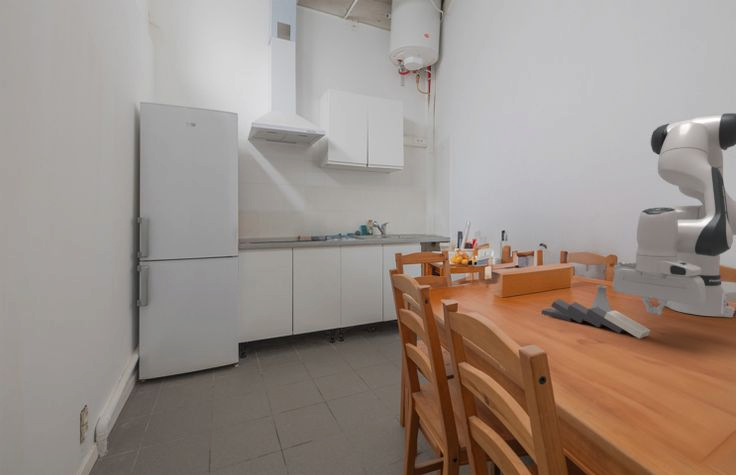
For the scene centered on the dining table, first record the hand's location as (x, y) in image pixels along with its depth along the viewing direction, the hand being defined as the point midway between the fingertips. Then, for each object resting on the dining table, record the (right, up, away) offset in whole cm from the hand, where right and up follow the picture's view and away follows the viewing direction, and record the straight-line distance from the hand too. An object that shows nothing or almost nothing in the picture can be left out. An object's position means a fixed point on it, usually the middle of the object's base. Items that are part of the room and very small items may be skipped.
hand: (654, 313), depth 93 cm
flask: (+4, -6, +27) cm, 28 cm away
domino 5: (-1, -7, +2) cm, 7 cm away
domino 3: (-6, -6, +12) cm, 15 cm away
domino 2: (-9, -6, +16) cm, 20 cm away
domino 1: (-11, -6, +19) cm, 23 cm away
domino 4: (-3, -6, +7) cm, 10 cm away
